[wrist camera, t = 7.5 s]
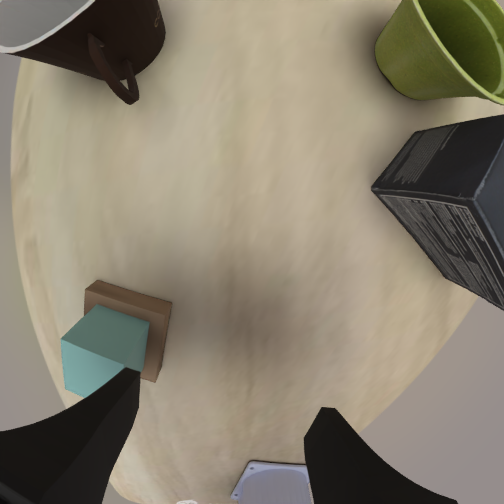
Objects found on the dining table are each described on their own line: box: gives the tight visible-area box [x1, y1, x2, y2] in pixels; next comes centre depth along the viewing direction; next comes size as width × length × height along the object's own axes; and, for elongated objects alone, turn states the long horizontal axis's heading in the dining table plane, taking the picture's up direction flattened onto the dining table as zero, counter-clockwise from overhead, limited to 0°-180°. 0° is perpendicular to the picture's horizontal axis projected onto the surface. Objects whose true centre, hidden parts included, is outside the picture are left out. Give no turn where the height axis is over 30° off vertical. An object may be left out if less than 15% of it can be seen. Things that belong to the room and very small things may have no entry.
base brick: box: [84, 280, 172, 382], centre depth 20 cm, size 6×6×2 cm
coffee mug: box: [0, 0, 166, 105], centre depth 11 cm, size 12×9×10 cm
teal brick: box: [61, 304, 150, 398], centre depth 16 cm, size 4×4×5 cm
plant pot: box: [375, 0, 504, 105], centre depth 12 cm, size 9×9×9 cm
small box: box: [372, 114, 504, 310], centre depth 14 cm, size 11×6×10 cm, turn 50°
